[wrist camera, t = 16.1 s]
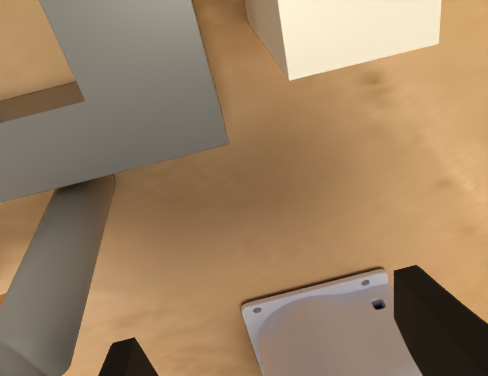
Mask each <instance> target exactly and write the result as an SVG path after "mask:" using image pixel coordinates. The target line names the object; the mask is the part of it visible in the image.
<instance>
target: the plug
mask: <svg viewBox="0 0 488 376" xmlns="http://www.w3.org/2000/svg"><path fill="white" fill-rule="evenodd" d="M244 2H245V8H246V13H247V18H248V24H249V25H250V26H251V28H252V29H253V31H254V32H255V33H256V35H257V36H258V38H259V39H260V40H261V42H262V43H263V45H264V46H265V47H266V49H267V50H268V52H269V53H270V54H271V56H272V57H273V59H274V60H275V61H276V63H277V64H278V66H279V67H280V68H281V70H282V71H283V73H284V74H285V75H286V77H287V78H288V80H289V81H290V80H294V79H298V78H302V77H306V76H310V75H314V74H318V73H322V72H326V71H330V70H334V69H338V68H342V67H347V66H351V65H355V64H359V63H363V62H367V61H371V60H375V59H379V58H383V57H387V56H391V55H395V54H399V53H403V52H407V51H411V50H415V49H419V48H424V47H428V46H432V45H436V44H439V29H440V14H441V0H244Z"/></svg>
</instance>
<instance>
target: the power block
mask: <svg viewBox="0 0 488 376" xmlns="http://www.w3.org/2000/svg"><path fill="white" fill-rule="evenodd" d="M39 1H40V3H41V6H42V8H43V10H44V12H45V14H46V17H47V19H48V21H49V23H50V25H51V27H52V30H53V32H54V34H55V36H56V38H57V40H58V43H59V45H60V47H61V49H62V51H63V53H64V56H65V58H66V60H67V62H68V64H69V67H70V69H71V71H72V73H73V75H74V77H75V80H76V82H73V83H69V84H65V85H61V86H57V87H53V88H50V89H46V90H42V91H38V92H34V93H30V94H26V95H22V96H19V97H15V98H11V99H7V100H3V101H0V203H2V202H5V201H9V200H13V199H17V198H21V197H25V196H29V195H33V194H37V193H41V192H44V191H48V190H52V189H56V188H60V187H64V186H68V185H72V184H76V183H80V182H83V181H87V180H91V179H95V178H99V177H103V176H107V175H111V174H115V173H119V172H122V171H126V170H130V169H134V168H138V167H142V166H146V165H150V164H154V163H157V162H161V161H165V160H169V159H173V158H177V157H181V156H185V155H189V154H193V153H196V152H200V151H204V150H208V149H212V148H216V147H220V146H224V145H228V144H229V141H228V137H227V133H226V128H225V124H224V119H223V115H222V111H221V108H220V104H219V100H218V96H217V92H216V89H215V85H214V81H213V77H212V73H211V70H210V66H209V62H208V58H207V54H206V51H205V47H204V43H203V39H202V35H201V32H200V28H199V24H198V20H197V16H196V13H195V9H194V5H193V1H192V0H39Z"/></svg>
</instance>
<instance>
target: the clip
mask: <svg viewBox="0 0 488 376" xmlns="http://www.w3.org/2000/svg"><path fill="white" fill-rule="evenodd" d="M114 188H115V181H114V177H113V175H112V174H111V175H107V176H103V177H99V178H95V179H91V180H87V181H83V182H80V183H76V184H72V185H68V186H64V187H60V188H56V189H55V191H54V194H53V196H52V198H51V200H50V202H49V204H48V206H47V208H46V211H45V213H44V215H43V217H42V219H41V221H40V223H39V225H38V227H37V230H36V232H35V234H34V236H33V238H32V240H31V242H30V244H29V247H28V249H27V251H26V253H25V255H24V257H23V259H22V261H21V264H20V266H19V268H18V270H17V272H16V274H15V276H14V278H13V281H12V283H11V285H10V287H9V289H8V291H7V293H5V294H3V295H0V376H61V375H63V374H64V373H65V372H66V371H67V370H68V369H69V367H70V365H71V361H72V357H73V353H74V349H75V345H76V341H77V337H78V333H79V329H80V325H81V321H82V317H83V313H84V309H85V305H86V301H87V297H88V293H89V289H90V285H91V281H92V277H93V272H94V268H95V264H96V260H97V256H98V252H99V248H100V244H101V240H102V236H103V232H104V228H105V224H106V220H107V216H108V212H109V208H110V204H111V200H112V196H113V192H114Z"/></svg>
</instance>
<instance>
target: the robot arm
mask: <svg viewBox="0 0 488 376" xmlns="http://www.w3.org/2000/svg"><path fill="white" fill-rule="evenodd" d="M364 280H365V281H364ZM257 307H258V308H257ZM241 312H242V316H243V319H244V322H245V325H246V328H247V331H248V334H249V337H250V340H251V343H252V346H253V349H254V352H255V355H256V358H257V361H258V364H259V367H260V370H261V373H262V375H263V376H488V324H487V323H486V322H485V321H484V320H482V319H481V318H480V317H478V316H477V315H476V314H475V313H473V312H472V311H471V310H470V309H468V308H467V307H466V306H465V305H463V304H462V303H461V302H460V301H459V300H457V299H456V298H455V297H454V296H453V295H451V294H450V293H449V292H448V291H447V290H445V289H444V288H443V287H442V286H441V285H440V284H438V283H437V282H436V281H435V280H434V279H433V278H431V277H430V276H429V275H428V274H427V273H426V272H425V271H424V270H422V269H421V268H420V267H419V266H417V265H414V266H410V267H406V268H403V269H399V270H395V271H394V292H393V290H392V288H391V287H390V285H389V283H388V274H387V272H386V271H385V270H383V269H378V270H374V271H370V272H366V273H362V274H358V275H354V276H350V277H346V278H342V279H338V280H335V281H331V282H327V283H323V284H319V285H315V286H311V287H307V288H303V289H299V290H295V291H291V292H287V293H283V294H279V295H276V296H272V297H268V298H264V299H260V300H256V301H252V302H248V303H245V304H244V305H242V307H241ZM98 376H158V374H157V373H156V371H155V369H154V368H153V366H152V364H151V363H150V361H149V360H148V358H147V356H146V355H145V353H144V351H143V350H142V348H141V347H140V345H139V343H138V342H137V340H136V339H135V337H134V338H130V339H127V340H123V341H119V342H115V343H113V344H112V345H111V347H110V349H109V352H108V354H107V356H106V359H105V361H104V363H103V366H102V368H101V371H100V373H99V375H98Z"/></svg>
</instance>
